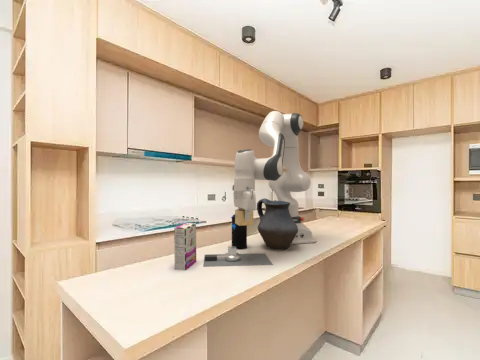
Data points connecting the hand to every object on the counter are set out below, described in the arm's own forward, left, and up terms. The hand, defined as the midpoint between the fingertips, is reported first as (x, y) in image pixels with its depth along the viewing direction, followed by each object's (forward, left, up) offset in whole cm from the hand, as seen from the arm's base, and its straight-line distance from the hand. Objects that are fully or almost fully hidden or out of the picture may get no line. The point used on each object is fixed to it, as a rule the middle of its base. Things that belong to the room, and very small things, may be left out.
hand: (244, 219), depth 111 cm
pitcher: (-19, -21, -18) cm, 34 cm away
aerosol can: (0, -21, -18) cm, 28 cm away
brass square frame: (0, 0, -2) cm, 2 cm away
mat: (+3, -1, -18) cm, 18 cm away
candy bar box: (+24, +5, -18) cm, 30 cm away
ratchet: (+9, -1, -17) cm, 20 cm away
